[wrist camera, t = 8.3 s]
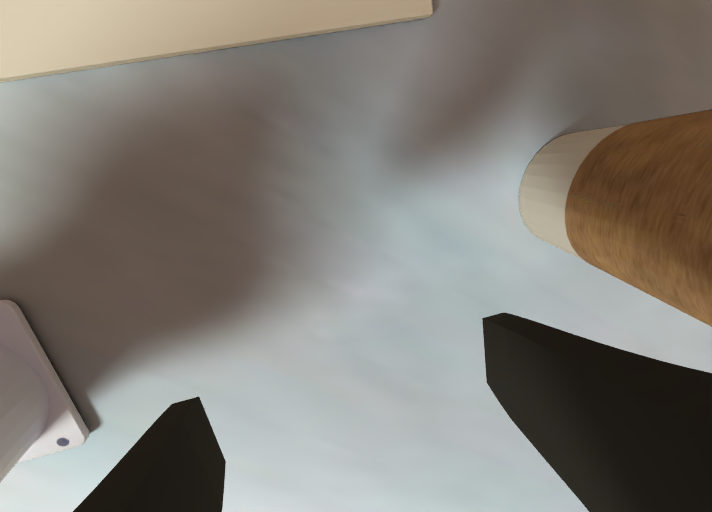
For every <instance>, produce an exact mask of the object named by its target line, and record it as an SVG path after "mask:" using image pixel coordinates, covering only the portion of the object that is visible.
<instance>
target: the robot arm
mask: <svg viewBox="0 0 712 512" xmlns="http://www.w3.org/2000/svg"><path fill="white" fill-rule="evenodd" d="M483 333H484V348H485V363H486V377H487V383H488V385H489V387H490V388H491V390H492V391H493V393H494V394H495V396H496V398H497V399H498V401H499V402H500V404H501V405H502V407H503V408H504V410H505V411H506V412H507V414H508V415H509V417H510V418H511V419H512V421H513V422H514V423H515V424H516V425H517V427H518V428H519V429H520V430H521V431H522V433H523V434H524V435H525V436H526V437H527V439H528V440H529V441H530V442H531V443H532V444H533V446H534V447H535V448H536V449H537V450H538V452H539V453H540V454H541V455H542V456H543V457H544V459H545V460H546V461H547V462H548V463H549V464H550V466H551V467H552V468H553V469H554V470H555V471H556V473H557V474H558V475H559V476H560V477H561V478H562V480H563V481H564V482H565V483H566V484H567V486H568V487H569V488H570V489H571V490H572V491H573V493H574V494H575V495H576V496H577V497H578V498H579V500H580V501H581V502H582V503H583V504H584V506H585V507H586V508H587V509H588V511H589V512H712V373H708V372H704V371H699V370H695V369H691V368H686V367H682V366H678V365H675V364H671V363H667V362H663V361H659V360H656V359H652V358H649V357H645V356H642V355H638V354H635V353H631V352H628V351H624V350H621V349H617V348H614V347H611V346H608V345H604V344H601V343H598V342H595V341H592V340H589V339H586V338H583V337H580V336H577V335H574V334H571V333H568V332H565V331H562V330H559V329H556V328H553V327H550V326H547V325H544V324H541V323H538V322H535V321H532V320H529V319H525V318H522V317H519V316H516V315H512V314H508V313H500V314H497V315H493V316H489V317H486V318H483ZM88 437H89V430H88V429H87V427H86V425H85V423H84V422H83V420H82V418H81V416H80V414H79V413H78V411H77V409H76V407H75V406H74V404H73V402H72V400H71V398H70V397H69V395H68V393H67V391H66V390H65V388H64V386H63V384H62V382H61V381H60V379H59V377H58V375H57V374H56V372H55V370H54V368H53V366H52V365H51V363H50V361H49V359H48V358H47V356H46V354H45V352H44V350H43V349H42V347H41V345H40V343H39V342H38V340H37V338H36V336H35V334H34V333H33V331H32V329H31V327H30V326H29V324H28V322H27V320H26V318H25V317H24V315H23V313H22V311H21V310H20V308H19V306H18V305H17V304H16V303H14V302H12V301H10V300H0V482H1V481H2V480H3V479H4V477H5V476H6V475H7V474H8V473H9V471H10V470H11V469H12V468H13V467H14V466H15V464H17V463H20V462H24V461H27V460H31V459H34V458H38V457H41V456H45V455H49V454H52V453H56V452H59V451H63V450H66V449H70V448H73V447H77V446H80V445H82V444H83V443H84V442H85V441H86V440H87V438H88ZM63 438H66V439H68V440H65V439H63ZM225 462H226V461H225V459H224V456H223V454H222V452H221V449H220V447H219V444H218V442H217V439H216V437H215V435H214V432H213V430H212V427H211V425H210V422H209V420H208V417H207V415H206V413H205V410H204V408H203V405H202V403H201V400H200V398H199V397H196V398H192V399H189V400H185V401H181V402H178V403H174V404H172V405H171V406H170V407H169V408H168V409H167V410H166V411H165V412H164V413H163V414H162V415H161V416H160V417H159V418H158V419H157V420H156V421H155V422H154V423H153V425H152V426H151V427H150V428H149V429H148V430H147V431H146V432H145V433H144V435H143V436H142V437H141V438H140V439H139V440H138V441H137V442H136V444H135V445H134V446H133V447H132V448H131V449H130V450H129V451H128V453H127V454H126V455H125V456H124V457H123V458H122V459H121V460H120V461H119V462H118V464H117V465H116V466H115V467H114V468H113V469H112V470H111V471H110V472H109V474H108V475H107V476H106V477H105V478H104V479H103V480H102V481H101V482H100V484H99V485H98V486H97V487H96V488H95V489H94V490H93V491H92V492H91V493H90V494H89V495H88V496H87V497H86V499H85V500H84V501H83V502H82V503H81V504H80V505H79V506H78V507H77V508H76V509H75V510H74V511H73V512H222V505H223V493H224V479H225Z"/></svg>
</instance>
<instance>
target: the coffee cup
mask: <svg viewBox="0 0 712 512" xmlns="http://www.w3.org/2000/svg"><path fill="white" fill-rule="evenodd" d="M519 209H520V213H521V217H522V219H523V221H524V223H525V225H526V227H527V228H528V229H529V230H530V232H531V233H532V234H534V235H535V236H536V237H538V238H539V239H541V240H543V241H545V242H547V243H549V244H551V245H554V246H556V247H558V248H560V249H562V250H564V251H566V252H568V253H570V254H573V255H575V256H577V257H579V258H581V259H583V260H585V261H586V262H587V263H589V264H591V265H593V266H595V267H597V268H599V269H601V270H603V271H605V272H607V273H609V274H610V275H612V276H614V277H616V278H618V279H620V280H622V281H624V282H626V283H628V284H630V285H632V286H634V287H636V288H638V289H640V290H642V291H643V292H645V293H647V294H649V295H651V296H653V297H655V298H657V299H659V300H661V301H663V302H665V303H667V304H669V305H671V306H673V307H675V308H677V309H678V310H680V311H682V312H684V313H686V314H688V315H690V316H692V317H694V318H696V319H698V320H700V321H702V322H704V323H706V324H708V325H710V326H711V327H712V110H706V111H700V112H695V113H689V114H683V115H677V116H671V117H665V118H660V119H654V120H648V121H642V122H638V123H633V124H629V125H622V126H615V127H608V128H601V129H594V130H587V131H580V132H575V133H570V134H566V135H563V136H560V137H558V138H556V139H554V140H552V141H551V142H550V143H548V144H547V145H545V146H544V147H543V148H542V149H541V150H540V151H539V152H538V153H537V154H536V155H535V156H534V158H533V159H532V161H531V162H530V164H529V165H528V167H527V169H526V171H525V173H524V175H523V179H522V182H521V185H520V191H519Z"/></svg>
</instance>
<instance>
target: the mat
mask: <svg viewBox="0 0 712 512" xmlns="http://www.w3.org/2000/svg"><path fill="white" fill-rule="evenodd" d="M432 14H433V9H432V0H0V83H1V82H7V81H14V80H20V79H27V78H34V77H40V76H47V75H53V74H60V73H67V72H73V71H80V70H86V69H93V68H100V67H106V66H113V65H119V64H126V63H133V62H139V61H146V60H152V59H159V58H166V57H172V56H179V55H186V54H192V53H199V52H205V51H212V50H219V49H225V48H232V47H238V46H245V45H252V44H258V43H265V42H271V41H278V40H285V39H291V38H298V37H304V36H311V35H318V34H324V33H331V32H337V31H344V30H351V29H357V28H364V27H370V26H377V25H384V24H390V23H397V22H404V21H410V20H417V19H423V18H429V17H430V16H431V15H432Z"/></svg>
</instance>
